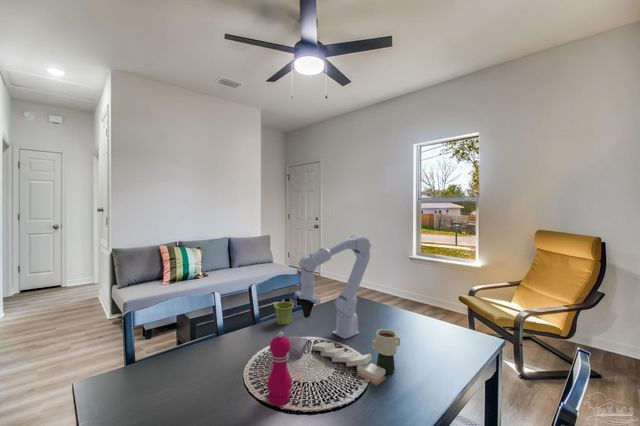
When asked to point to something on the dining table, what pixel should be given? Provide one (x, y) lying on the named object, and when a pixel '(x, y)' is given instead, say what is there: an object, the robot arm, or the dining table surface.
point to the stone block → (297, 346)
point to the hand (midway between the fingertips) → (306, 316)
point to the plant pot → (283, 312)
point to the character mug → (386, 348)
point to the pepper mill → (279, 371)
